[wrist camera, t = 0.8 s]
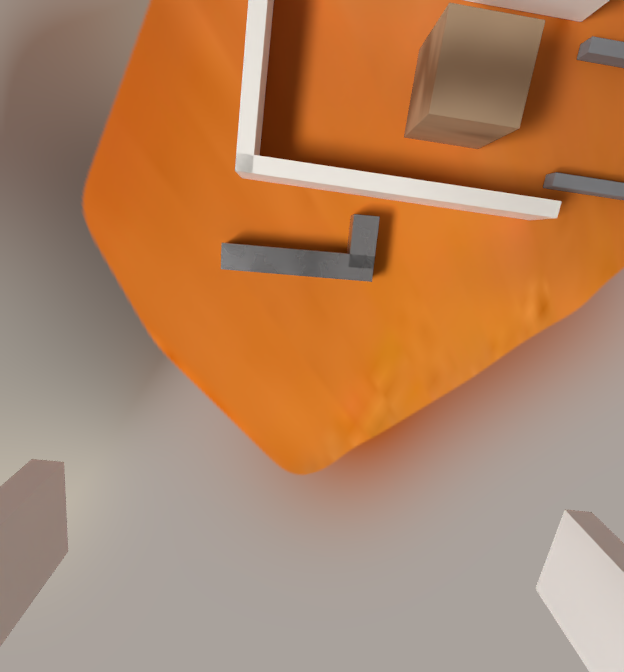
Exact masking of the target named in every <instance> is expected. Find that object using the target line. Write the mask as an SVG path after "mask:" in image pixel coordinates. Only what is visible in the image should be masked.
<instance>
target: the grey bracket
mask: <svg viewBox="0 0 624 672" xmlns="http://www.w3.org/2000/svg"><path fill="white" fill-rule="evenodd" d="M577 60H581V61H587V62H593V63H598V64H604V65H610V66H615V67H621V68H624V42H620V41H615V40H609V39H604V38H598V37H593V36H592V37H591V38H589V39H588V40H587V41H585V42H584V43H582V44H581V45H580V49H579V53H578V56H577ZM543 188H547V189H553V190H560V191H566V192H573V193H580V194H586V195H593V196H599V197H606V198H612V199H619V200H624V183H621V182H614V181H608V180H601V179H595V178H589V177H582V176H576V175H569V174H563V173H557V172H556V173H552V174H548V175H546V178H545V182H544V185H543Z"/></svg>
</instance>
